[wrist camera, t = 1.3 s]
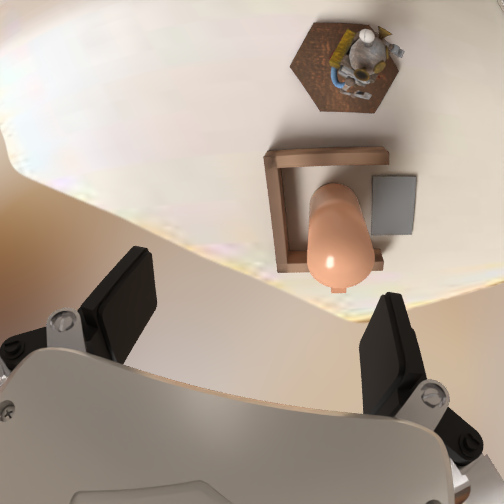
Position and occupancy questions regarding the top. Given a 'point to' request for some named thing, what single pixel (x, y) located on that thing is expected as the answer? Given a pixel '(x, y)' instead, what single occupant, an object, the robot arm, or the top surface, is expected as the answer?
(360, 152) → the frame
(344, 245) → the peach rounded cylinder
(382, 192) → the mat
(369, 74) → the robot figurine
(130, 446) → the robot arm
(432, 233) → the top surface
